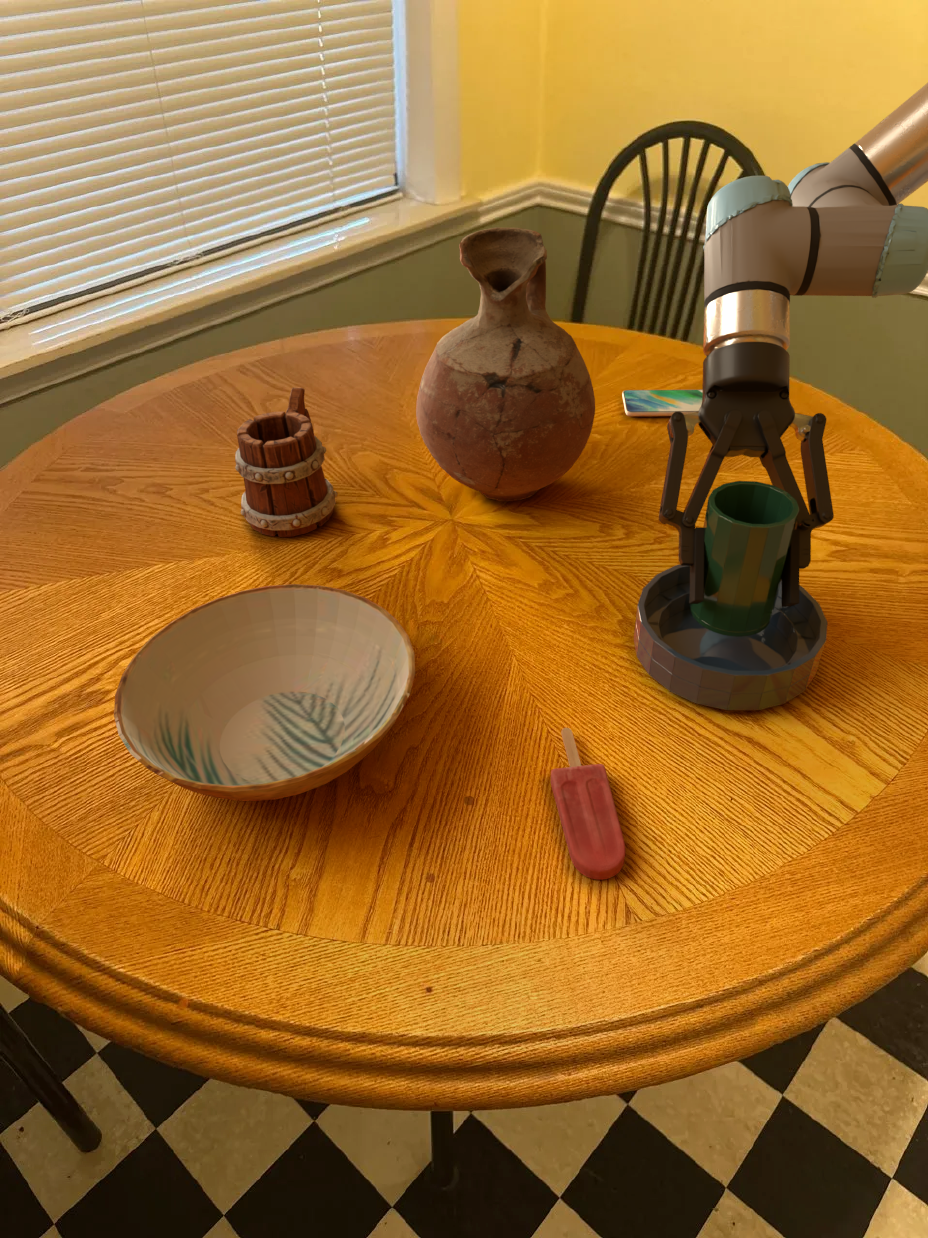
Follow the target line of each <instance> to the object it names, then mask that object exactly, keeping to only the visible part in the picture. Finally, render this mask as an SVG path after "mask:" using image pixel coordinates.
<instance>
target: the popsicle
mask: <svg viewBox="0 0 928 1238" xmlns="http://www.w3.org/2000/svg"><path fill="white" fill-rule="evenodd" d="M561 737H562V742H563V745H564V749H565V754H566V758H567V761H568V765H569V767H567V766H566V767H560V768H559V767H558V768H553V769H552V770H551V771H550V786H551V791H552V793H553V797H554V800H555V804H556V808H557V812H558V816H559V820H560V824H561V827H562V831H563V834H564V838H565V839H564V840H565V843H566V846H567V849H568V853H569V857H570V860H571V862H572V864H573V866H574V868H575V869H576V871H578V872H579V873H580V874H581V875H583V876H585V877H586V878H589V879H592V880H598V881H599V880H608V879H611V878H613V877H615V876H617V875H618V874H619V873H620V872H621V870H622V869H623V868H624V865H625V861H626V860H625V859H626V850H627V849H626V842H625V838H624V835H623V831H622V827H621V824H620V823H621V822H620V819H619V815H618V812H617V808H616V805H615V802H614V797H613V793H612V789H611V785H610V782H609V777H608V774H607V770H606V768H605V767H606V766H605V765H604V764H603V763H597V764H596V763H595V764H587V765H586V764H585V765H582V763H581V758H580V755H579V751H578V748H577V744H576V740H575V736H574V733H573V730H572V729H571V728H570V727H563V728H562V729H561Z"/></svg>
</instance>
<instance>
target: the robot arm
mask: <svg viewBox="0 0 928 1238" xmlns="http://www.w3.org/2000/svg"><path fill="white" fill-rule="evenodd" d="M926 183H928V82H927V83H925V84H924V85H923V86H922V87H920V88H919V89H918V90H917V91H916V92H914V93H913V94H912V95H911V96H910V97H908V98H907V99H906V100H905V101H904V102H903V103H901V104H900V105H899V106H898V107H897V108H895V109H894V110H893V111H891V112H890V113H889V114H888V115H887V116H885V117H884V118H883V119H882V120H881V121H879V122H878V123H877V124H876V125H875V126H874V127H872V128H871V129H870V130H869V131H868V132H866V133H865V134H864V135H863V136H861V137H860V138H859V139H858V140H857V141H855V142H854V143H852V145H850V146H849V147H848V148H846V149H845V150H844V151H843V152H842V153H840V154H838V155H837V157H835V158H834V159H833V160H831V162H829V161H828V162H827V161H826V162H825V161H824V162H819V163H814V164H812V165H809V166H807V167H805V168H804V169H802V170H801V171H800V172H798V173H797V174H796V175H795V176H794V177H793V178H792V179H791V181H790V182H789V184H788V185H787V184H786V183H785V182H784V181H782V180H780V179H772V177H770V176H769V175H750V176H744V177H741V178H738V179H735V180H732V181H730V182H729V183H727V184H725V185H723V186H722V187H721V188H720V189H718V190H717V191H716V192H715V193H714V194H713V196H712V197H711V199H710V201H709V202H708V205H707V207H706V208H707V209H706V220H705V221H706V222H705V236H704V245H703V247H702V249H703V252H704V254H703V255H704V259H703V260H704V261H703V262H704V264H703V265H704V266H703V268H704V269H703V272H704V274H703V275H704V277H703V278H704V279H703V280H704V282H703V283H704V286H703V289H704V294H703V295H704V298H703V299H704V304H703V339H702V341H703V345H702V346H703V347H702V351H703V354H704V355H705V356H706V357H705V358H704V360H703V362H702V390H703V395H702V405H701V407H700V409H699V411H698V412H693V413H688V414H683V413H682V412H674V413H673V414H672V416H670V418H669V420H668V422H667V425H666V428H667V434H668V438H669V444H670V446H669V452H668V459H667V464H666V470H665V475H664V476H665V477H664V482H663V488H662V493H661V500H660V507H659V512H658V521H659V523H660V524H662V525H668V526H670V527H673V528H675V529H676V530H677V533H678V555H677V556H678V558H677V559H678V563H679V564H680V565H681V566H690V597H689V604H699V603H700V602H702V601H704V532H705V528H703V526H702V527H701V526H700V527H699V526H697V527H696V523H697V521H698V519H699V517H700V515H701V512H702V509H703V507H704V505H705V503H706V501H707V499H708V497H709V495H710V494H709V493H710V491H711V489H712V487H713V485H714V482H715V479H716V478H717V475H718V473H719V470H720V468H721V466H722V463H723V461H724V460H725V458H734V457H739V456H745V457H748V458H759V460H760V463H761V465H762V467H763V468H764V469H765V470H766V472H767V475H768V477H769V480H770V482H771V485H773V486H775V487H778V488H780V489H782V490H784V491H786V492H788V493H789V494H790V495H791V496H792V497H793V498H794V499H795V500H796V501H797V504H798V507H799V514H798V518H797V521H796V525H795V529H794V533H793V537H792V541H791V545H790V549H789V553H788V557H787V560H786V564H785V568H784V572H783V576H782V606H783V607H791V606H793V605H796V604H799V585H800V570H804V569H806V568H808V567H809V566H810V563H811V561H812V551H811V550H812V547H811V546H812V532H813V530H816V529H818V528H822V527H824V526H825V525H827V524H828V523H830V522H831V521H833V519H834V517H835V515H834V508H833V501H832V495H831V487H830V480H829V474H828V467H827V462H826V453H825V448H824V441H823V439H824V434H825V429H826V426H827V425H826V424H827V416H826V415H825V414H824V413H822V412H817V413H815V414H814V415H807V414H802V413H797V412H796V411H795V408H794V407H793V405H792V403H791V399H790V374H791V373H790V364H791V363H790V362H791V361H790V352H788V349H789V347H790V344H791V339H790V338H791V331H790V329H791V324H790V323H791V322H790V321H791V320H790V319H791V318H790V317H791V315H790V313H791V312H790V304H791V296H797V297H798V296H800V297H802V296H809V297H810V296H814V297H815V296H816V297H817V296H818V297H819V296H822V297H824V296H825V297H826V296H827V297H828V296H829V297H871V298H873V299H874V298H875V299H876V298H878V297H885V296H897V295H907V294H910V293H912V292H914V291H915V290H916V289H917V288H918V287H920V285H921V284H922V283H923V282H924V280H925V278H926V276H927V274H928V208H927V207H925V206H919V205H918V206H917V205H904V204H903V203H901V202H903V201H904V200H905V199H907V198H908V197H909V196H911V195H912V194H913V193H915V192H916V191H917V190H918V189H920V188H921V187H922V186H924V185H926ZM697 426H698V427H699V428H700V430H701V431H702V432H703V434H704V435H705V436H706V437H707V439H708V440H709V442H710V443H711V446H710V449H709V452H708V454H707V456H706V458H705V461H704V463H703V466H702V469H701V471H700V473H699V475H698V477H697V480H696V482H695V485H694V487H693V489H692V492H691V494H690V496H689V498H688V501H687V503H686V505H685V508H684V510H683V511H681V510H679V509H678V503H679V496H680V491H681V485H682V479H683V473H684V466H685V462H686V454H687V448H688V443H689V439H690V438H691V437H692V436H693V435H694V433H695V427H697ZM789 427H790V428H792V429H793V430H794V433H795V434H794V435H795V437H796V439H798V441H800V457H801V464H802V470H803V478H804V484H805V490H806V497H807V504H806V501H805V500H804V497H803V495H802V492H801V489H800V488H799V485H798V482H797V480H796V477H795V475H794V472H793V470H792V467H791V465H790V463H789V461H788V459H787V452H786V448H785V445H784V443H783V441H782V437H783V435H784V434H785V433H786V432H787V430H788V429H789ZM807 505H808V506H807Z"/></svg>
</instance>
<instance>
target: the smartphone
mask: <svg viewBox="0 0 928 1238" xmlns="http://www.w3.org/2000/svg"><path fill="white" fill-rule="evenodd" d="M702 395H703V389H625V390H623V391H622V393H621V396H622V402H623V407H624V408H623V409H624V413H625V415H626V416H627V417H671V416H672V414H673V413H674V412H682V413H683V414H688V413H693V412H698V411H699V409H700V407H701V405H702Z"/></svg>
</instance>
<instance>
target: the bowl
mask: <svg viewBox="0 0 928 1238" xmlns="http://www.w3.org/2000/svg"><path fill="white" fill-rule="evenodd" d="M415 656H416V655H415V650H414V648H413V645H412V642H411V639H410V636H409V634H408V633H407V632H406V630H405V628H404V627H403V626H402V624H401V623H400V622H399V620H398V618H396V617H394V616H393V615H392V614H391V613H389V612H388V610H387V609H385V608H384V607H383V606H381V605H379V604H377V603H375V602H374V601H372V600H370V599H368V598H367V597H365V596H362V595H359V594H357V593H354V592H350V591H348V590H345V589H343V588H337V587H331V586H325V585H319V584H301V583H300V584H299V583H291V584H275V585H266V586H260V587H255V588H249V589H243V590H240V591H237V592H234V593H231V594H227V595H224V596H221V597H217V598H215V599H212V600H210V601H208V602H206V603H204V604H201V605H199V606H196V607H194V608H192V609H191V610H189V611H187V612H185V613H184V614H181V615H180V616H179V617H177V618H175V619H174V620H172V621H170V622H169V623H168V624H166V625H165V626H164V627H162V628H161V629H159V630H158V631H157V632H156V633H154V635H152V636H151V637H150V638H148V640H147V641H146V642H145V643H144V644H143V646H141V647H140V649H139V650H138V651H137V652H136V653H135V654H134V656H133V657H132V659H130V661H129V663H128V665H127V667H126V668H125V669H124V671H123V672H122V675H121V676H120V680H119V683H118V686H117V689H116V691H115V694H114V708H113V717H114V722H115V725H116V729H117V734H118V736H119V738H120V740H121V741H122V743H123V744H124V746H125V748H126V749H127V752H128V753H129V754H130V755H131V756H132V757H133V758H134V759H136V760H137V761H138V762H139V763H140V764H141V765H142V766H144V767H145V768H146V769H147V770H149V771H150V772H152V773H154V774H155V775H157V776H159V777H160V778H162V779H165V780H167V781H169V782H171V783H174V784H175V785H177V786H179V787H181V788H183V789H185V790H188V791H190V792H193V793H196V794H199V795H204V796H206V797H211V798H214V799H222V800H230V801H231V800H232V801H242V802H243V801H244V802H258V801H259V802H260V801H271V800H279V799H283V798H288V797H292V796H296V795H300V794H304V793H306V792H309V791H311V790H314V789H316V788H319V787H321V786H325V785H326V784H328V783H330V782H331V781H333V780H335V779H337V778H339V777H340V776H343V775H344V774H345V773H347V772H348V771H350V770H351V769H352V768H353V767H355V766H356V765H357V764H359V763H360V762H361V761H362V760H363V759H365V757H367V756H368V755H369V754H371V753H372V752H373V750H375V748H376V747H377V746H378V744H380V743H381V742H382V740H383V739H384V738H385V737H386V735H388V733H389V732H390V730H391V729H392V727H393V726H394V724H395V723H396V721H397V719H398V717H399V715H400V714H401V712H402V710H403V708H404V706H405V705H406V702H407V701H408V699H409V697H410V695H411V693H412V688H413V684H414V680H415V676H416V659H415V658H416V657H415Z"/></svg>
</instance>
